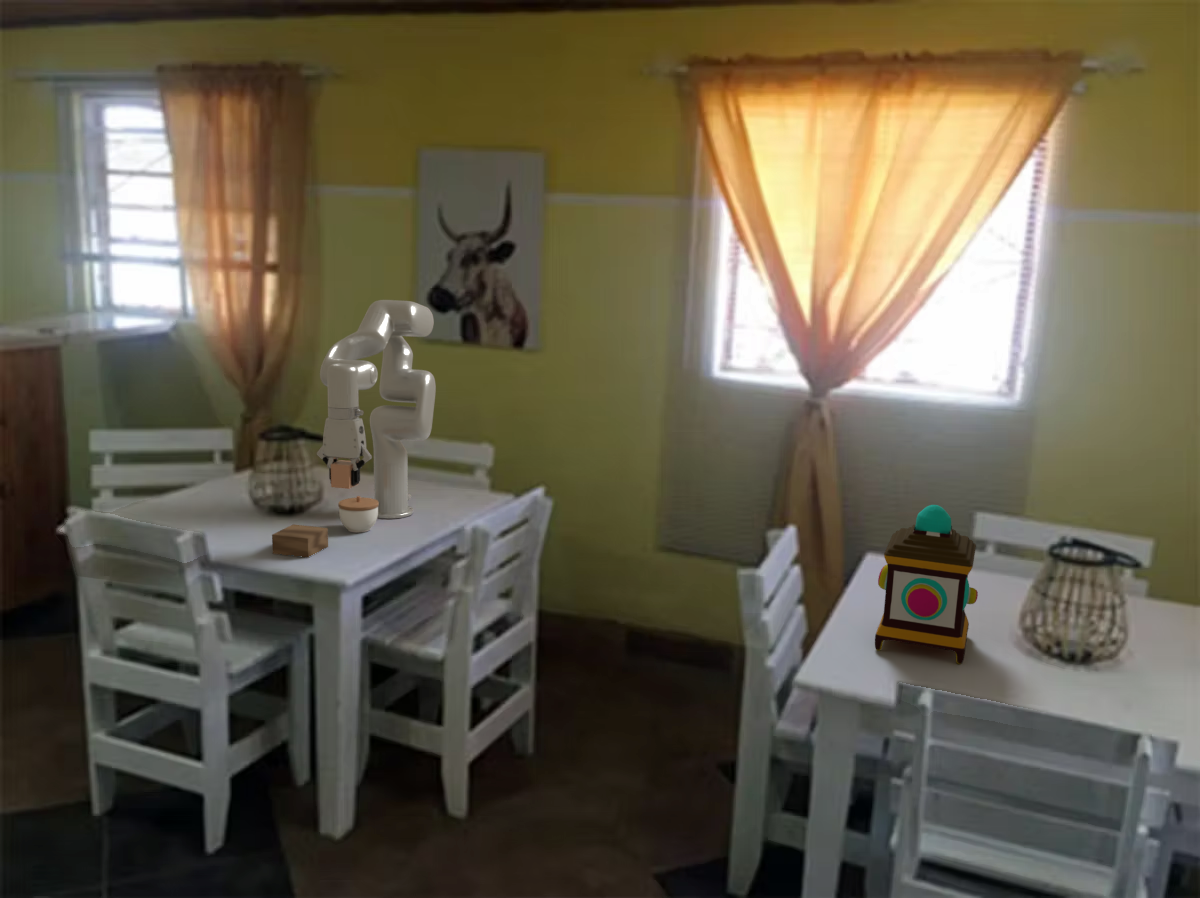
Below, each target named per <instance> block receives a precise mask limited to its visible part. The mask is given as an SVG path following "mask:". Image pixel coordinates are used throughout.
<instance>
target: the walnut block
mask: <svg viewBox="0 0 1200 898" xmlns="http://www.w3.org/2000/svg"><path fill="white" fill-rule="evenodd" d="M271 543H272V545H271V546H272V554H273V555H280V554H282V556H288V555H290V556H289V557H292V556H291V555H294V556H293V557H297V556H302V557H301V558H305V557H309V556H311V555H313V554H314V555H316V554H318V553H320V552H322V551H323V550H325V549H328V548H329V529H328V527H321V526H311V525H304V524H303V525H302V524H294V523H293V524H291V525H289V526H287V527H285V528H282V529H281V530H279V531H277V532H275V533H272V534H271ZM324 548H325V549H324ZM322 549H323V550H322ZM321 550H322V551H321ZM319 551H320V552H319ZM317 552H318V553H317ZM315 553H316V554H315ZM314 555H313V556H314ZM311 557H312V556H311ZM309 558H310V557H309Z"/></svg>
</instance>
